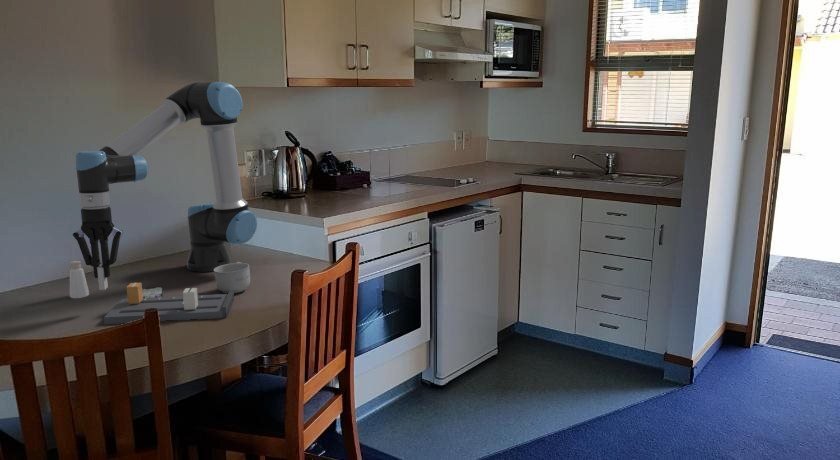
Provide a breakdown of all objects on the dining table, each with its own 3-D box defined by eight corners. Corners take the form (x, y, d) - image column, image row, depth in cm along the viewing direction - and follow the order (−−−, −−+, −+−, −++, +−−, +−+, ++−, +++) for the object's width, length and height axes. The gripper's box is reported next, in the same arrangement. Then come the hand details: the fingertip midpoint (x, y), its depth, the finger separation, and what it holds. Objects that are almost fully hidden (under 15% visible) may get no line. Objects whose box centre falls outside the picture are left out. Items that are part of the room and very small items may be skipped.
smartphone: (135, 304, 189) (137, 289, 203) (136, 308, 189) (138, 292, 203) (162, 301, 192) (162, 286, 205) (163, 305, 192) (163, 290, 206)
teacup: (241, 297, 197) (239, 272, 195) (208, 295, 199) (206, 270, 197) (261, 284, 210) (259, 260, 209) (230, 282, 212) (228, 258, 211)
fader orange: (132, 299, 188) (130, 282, 187) (143, 299, 188) (141, 282, 187) (128, 303, 184) (126, 286, 183) (139, 303, 184) (137, 286, 183)
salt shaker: (65, 297, 197) (61, 262, 195) (80, 292, 202) (76, 258, 200) (78, 299, 196) (74, 264, 193) (93, 294, 200) (89, 260, 198)
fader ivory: (187, 305, 182) (185, 288, 181) (198, 304, 183) (196, 287, 182) (184, 309, 178) (182, 292, 177) (195, 309, 179) (194, 291, 178)
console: (122, 305, 190) (121, 295, 189) (234, 299, 194) (233, 289, 193) (104, 324, 174) (103, 313, 173) (226, 317, 179) (225, 306, 178)
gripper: (65, 209, 174) (74, 293, 179) (116, 208, 176) (123, 291, 181) (75, 205, 182) (84, 285, 186) (124, 204, 184) (131, 283, 188)
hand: (103, 288), depth 184 cm, fingers closed
